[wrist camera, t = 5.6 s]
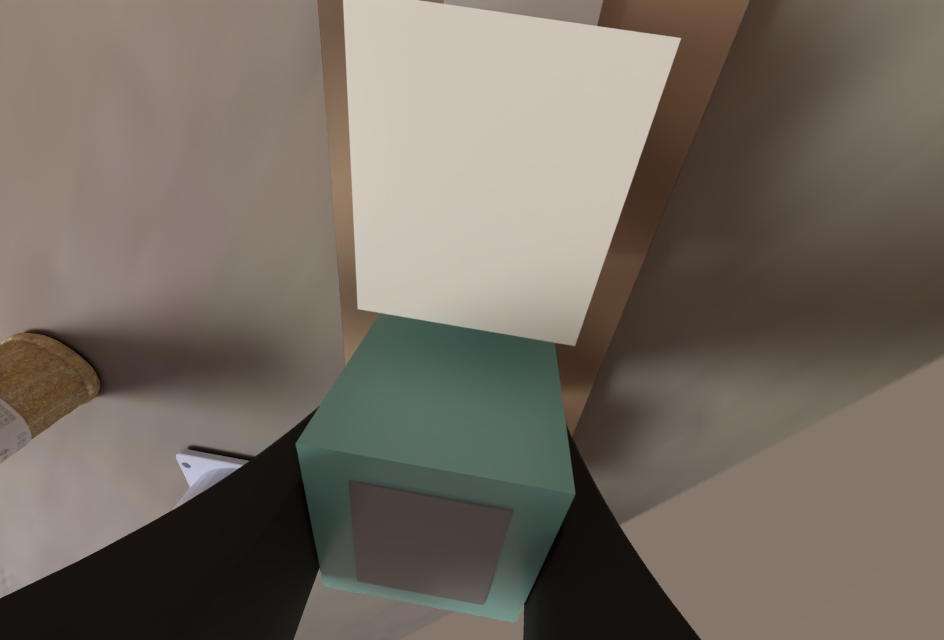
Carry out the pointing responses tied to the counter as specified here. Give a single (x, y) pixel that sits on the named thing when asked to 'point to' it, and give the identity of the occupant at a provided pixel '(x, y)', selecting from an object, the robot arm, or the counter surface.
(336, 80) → the rail board
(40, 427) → the sprinkles bottle
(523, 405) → the block
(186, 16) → the counter surface
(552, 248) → the mounted modules
